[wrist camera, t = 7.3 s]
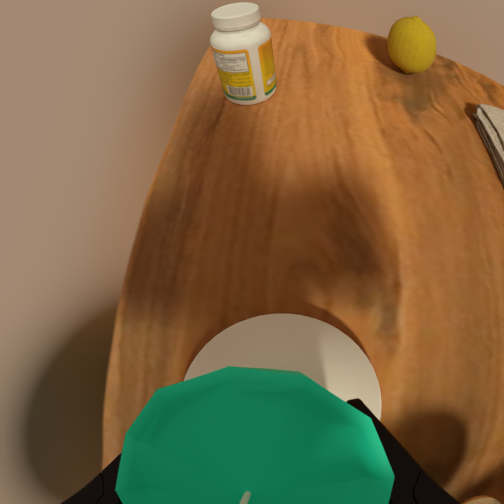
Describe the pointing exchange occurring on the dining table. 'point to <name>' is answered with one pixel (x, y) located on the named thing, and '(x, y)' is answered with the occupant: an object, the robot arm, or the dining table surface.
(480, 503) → the balance
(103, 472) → the robot arm
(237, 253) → the dining table surface
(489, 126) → the washcloth
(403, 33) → the lemon
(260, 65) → the supplement bottle
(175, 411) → the candle
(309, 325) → the dish
